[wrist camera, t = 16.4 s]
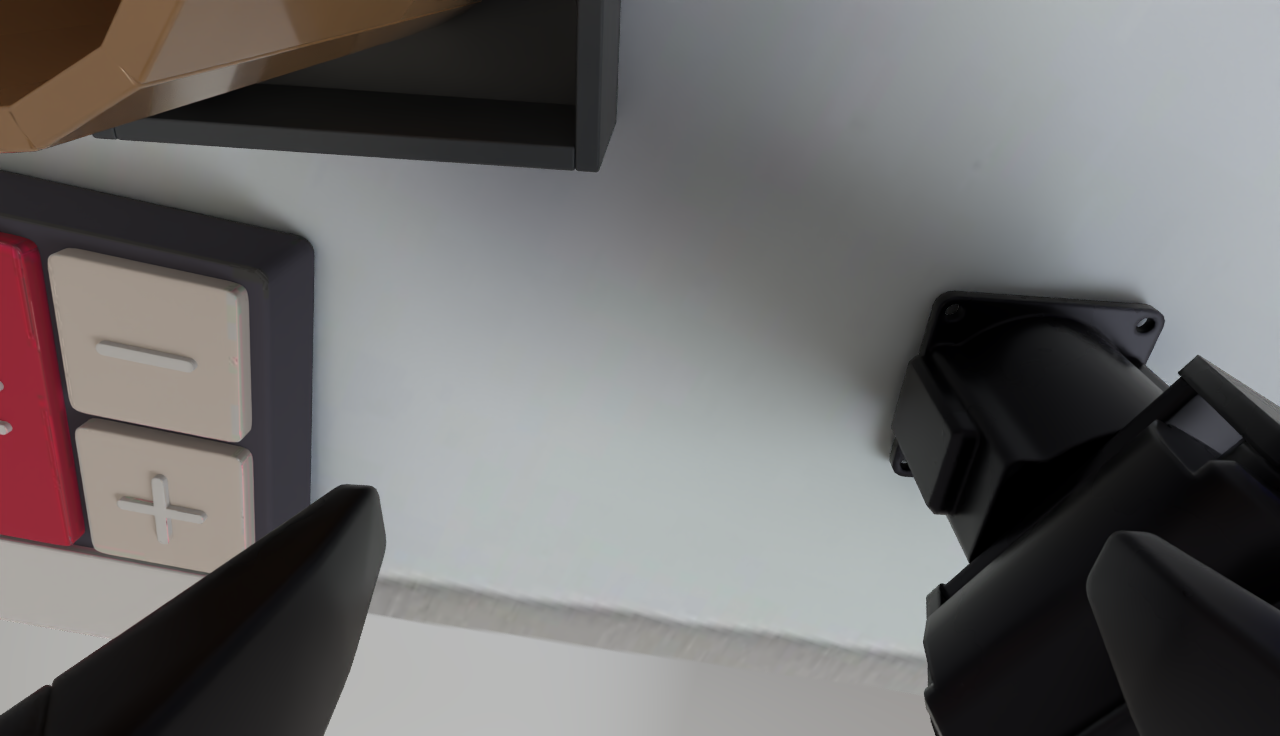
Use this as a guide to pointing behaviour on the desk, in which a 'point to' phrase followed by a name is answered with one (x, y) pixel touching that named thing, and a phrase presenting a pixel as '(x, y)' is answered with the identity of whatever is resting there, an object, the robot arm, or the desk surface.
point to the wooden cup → (171, 54)
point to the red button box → (142, 400)
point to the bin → (434, 94)
